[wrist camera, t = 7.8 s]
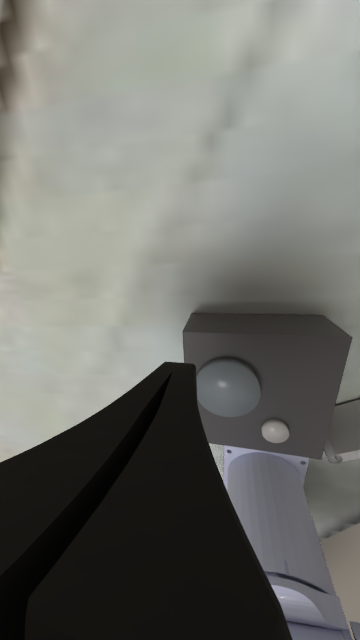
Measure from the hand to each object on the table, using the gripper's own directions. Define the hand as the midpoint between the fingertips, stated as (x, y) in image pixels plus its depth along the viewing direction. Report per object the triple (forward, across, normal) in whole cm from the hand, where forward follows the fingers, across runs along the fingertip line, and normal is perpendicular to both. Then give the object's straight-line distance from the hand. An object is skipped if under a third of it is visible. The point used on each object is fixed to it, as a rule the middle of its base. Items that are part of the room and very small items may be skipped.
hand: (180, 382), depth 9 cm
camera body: (+9, -4, +5) cm, 11 cm away
